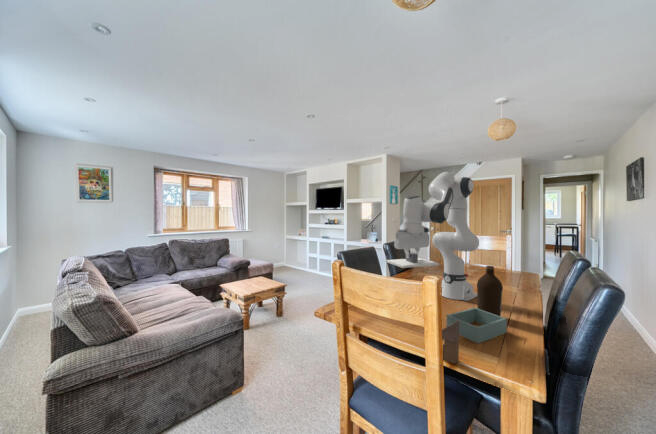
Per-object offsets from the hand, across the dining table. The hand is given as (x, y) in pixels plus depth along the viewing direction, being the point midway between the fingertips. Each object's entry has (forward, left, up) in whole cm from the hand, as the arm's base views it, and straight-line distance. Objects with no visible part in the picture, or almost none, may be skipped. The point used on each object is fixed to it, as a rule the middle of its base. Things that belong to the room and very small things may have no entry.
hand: (411, 257), depth 124 cm
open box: (-14, +24, -29) cm, 40 cm away
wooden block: (+16, +30, -29) cm, 45 cm away
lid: (0, 0, -3) cm, 3 cm away
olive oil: (-34, +18, -29) cm, 48 cm away
